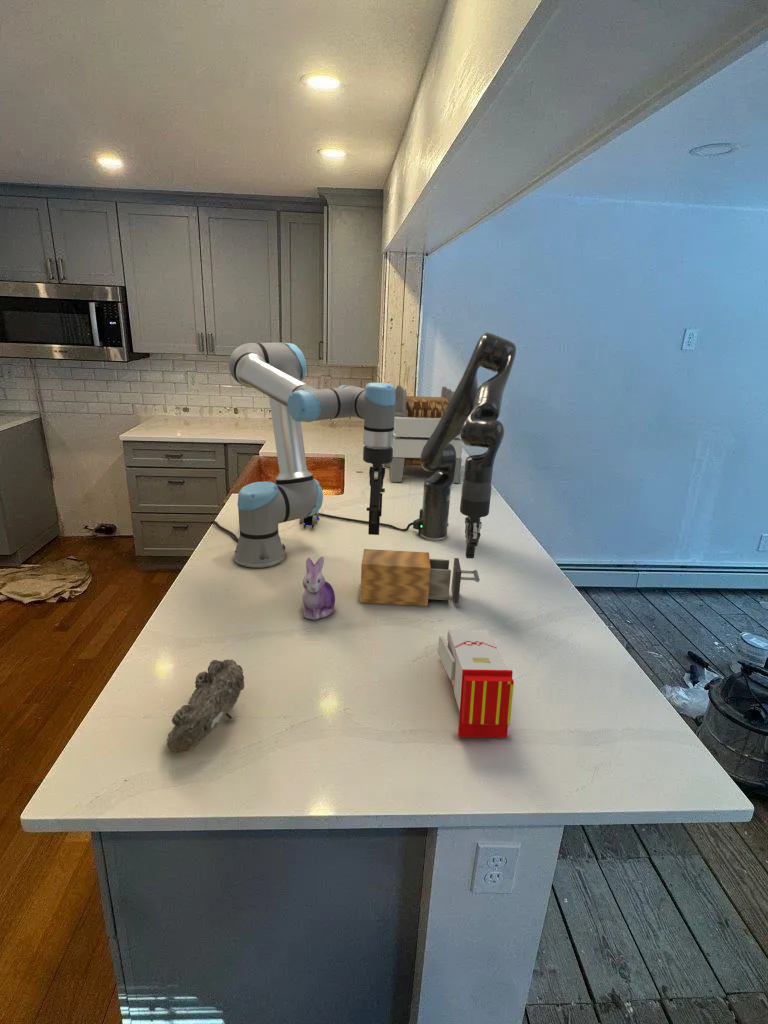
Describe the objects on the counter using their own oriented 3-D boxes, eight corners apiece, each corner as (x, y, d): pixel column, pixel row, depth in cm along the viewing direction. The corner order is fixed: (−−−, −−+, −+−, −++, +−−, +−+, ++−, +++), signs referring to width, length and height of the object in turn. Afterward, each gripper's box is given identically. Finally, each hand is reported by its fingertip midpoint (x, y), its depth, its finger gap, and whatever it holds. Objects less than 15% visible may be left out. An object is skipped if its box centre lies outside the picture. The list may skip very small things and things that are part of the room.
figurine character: (317, 534, 199) (321, 515, 212) (317, 515, 196) (321, 497, 209) (298, 534, 199) (303, 515, 212) (298, 515, 195) (302, 496, 209)
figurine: (308, 624, 140) (307, 569, 135) (294, 605, 149) (293, 553, 144) (343, 617, 145) (344, 563, 139) (327, 599, 153) (328, 548, 148)
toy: (488, 613, 130) (523, 677, 101) (484, 667, 133) (517, 744, 104) (435, 612, 130) (455, 676, 101) (432, 666, 133) (451, 743, 103)
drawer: (474, 589, 160) (477, 559, 157) (478, 604, 152) (481, 573, 149) (396, 585, 161) (397, 554, 157) (395, 600, 152) (397, 568, 149)
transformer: (382, 463, 289) (386, 382, 275) (445, 464, 293) (451, 384, 279) (390, 482, 257) (394, 392, 243) (460, 483, 261) (468, 394, 247)
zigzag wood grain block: (426, 589, 161) (429, 552, 158) (427, 606, 152) (430, 567, 148) (362, 585, 162) (364, 548, 158) (360, 602, 152) (361, 563, 149)
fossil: (192, 660, 117) (244, 628, 112) (224, 691, 120) (276, 661, 115) (142, 746, 98) (202, 712, 93) (182, 779, 101) (242, 748, 96)
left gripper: (391, 459, 131) (387, 543, 138) (394, 436, 154) (390, 509, 162) (359, 457, 131) (357, 542, 138) (366, 434, 155) (364, 508, 162)
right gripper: (494, 505, 140) (486, 568, 146) (487, 489, 152) (480, 548, 158) (463, 503, 140) (457, 567, 146) (459, 487, 153) (453, 546, 158)
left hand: (375, 524), depth 150 cm, fingers open, 13 cm apart
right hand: (469, 557), depth 152 cm, fingers closed
